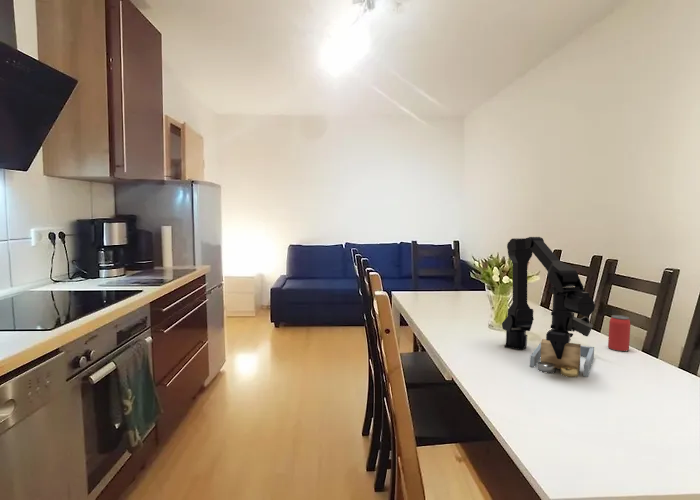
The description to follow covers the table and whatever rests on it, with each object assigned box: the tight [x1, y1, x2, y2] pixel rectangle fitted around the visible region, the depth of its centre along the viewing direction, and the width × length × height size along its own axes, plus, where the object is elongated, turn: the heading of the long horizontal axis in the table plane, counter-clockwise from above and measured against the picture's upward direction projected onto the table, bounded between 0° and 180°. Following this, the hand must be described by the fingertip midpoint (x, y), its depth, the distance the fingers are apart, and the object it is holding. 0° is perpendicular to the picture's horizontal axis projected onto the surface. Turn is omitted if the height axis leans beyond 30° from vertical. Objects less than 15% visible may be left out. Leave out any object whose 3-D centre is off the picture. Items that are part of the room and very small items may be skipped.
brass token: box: [559, 365, 580, 378], centre depth 139 cm, size 5×5×2 cm
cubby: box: [529, 342, 595, 378], centre depth 151 cm, size 16×22×4 cm
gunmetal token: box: [537, 361, 556, 374], centre depth 142 cm, size 5×5×2 cm
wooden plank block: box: [540, 338, 582, 371], centre depth 143 cm, size 11×3×8 cm, turn 58°
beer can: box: [607, 314, 631, 352], centre depth 165 cm, size 7×7×12 cm
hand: (560, 357), depth 143 cm, fingers closed on wooden plank block, 3 cm apart
